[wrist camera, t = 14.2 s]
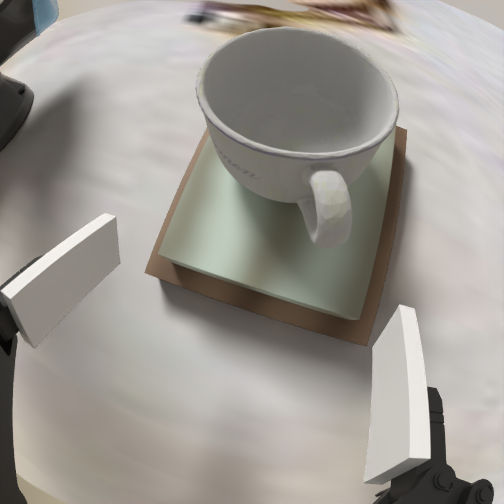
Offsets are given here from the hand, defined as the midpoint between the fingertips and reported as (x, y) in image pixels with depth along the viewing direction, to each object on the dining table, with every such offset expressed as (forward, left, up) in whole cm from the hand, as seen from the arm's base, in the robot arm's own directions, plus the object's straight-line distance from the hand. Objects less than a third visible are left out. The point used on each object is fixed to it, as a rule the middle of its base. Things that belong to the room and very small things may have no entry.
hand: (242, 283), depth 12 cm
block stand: (0, +9, -12) cm, 15 cm away
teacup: (0, +9, -6) cm, 11 cm away
